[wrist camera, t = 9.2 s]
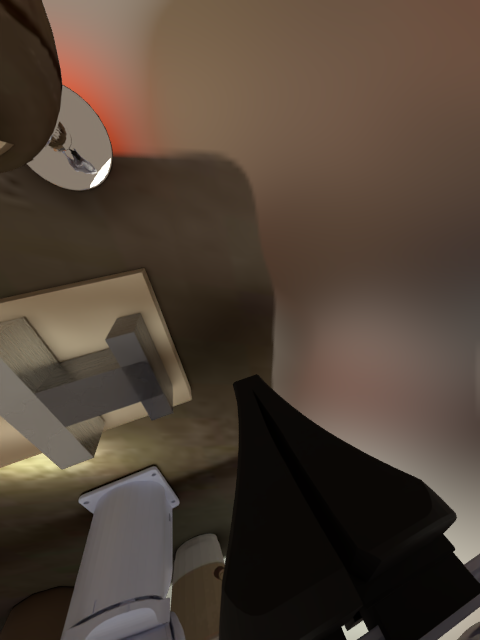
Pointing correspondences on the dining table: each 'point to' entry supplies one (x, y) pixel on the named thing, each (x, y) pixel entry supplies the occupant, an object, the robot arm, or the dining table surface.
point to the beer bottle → (39, 616)
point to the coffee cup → (198, 587)
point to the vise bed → (90, 337)
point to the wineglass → (45, 106)
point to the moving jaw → (78, 387)
